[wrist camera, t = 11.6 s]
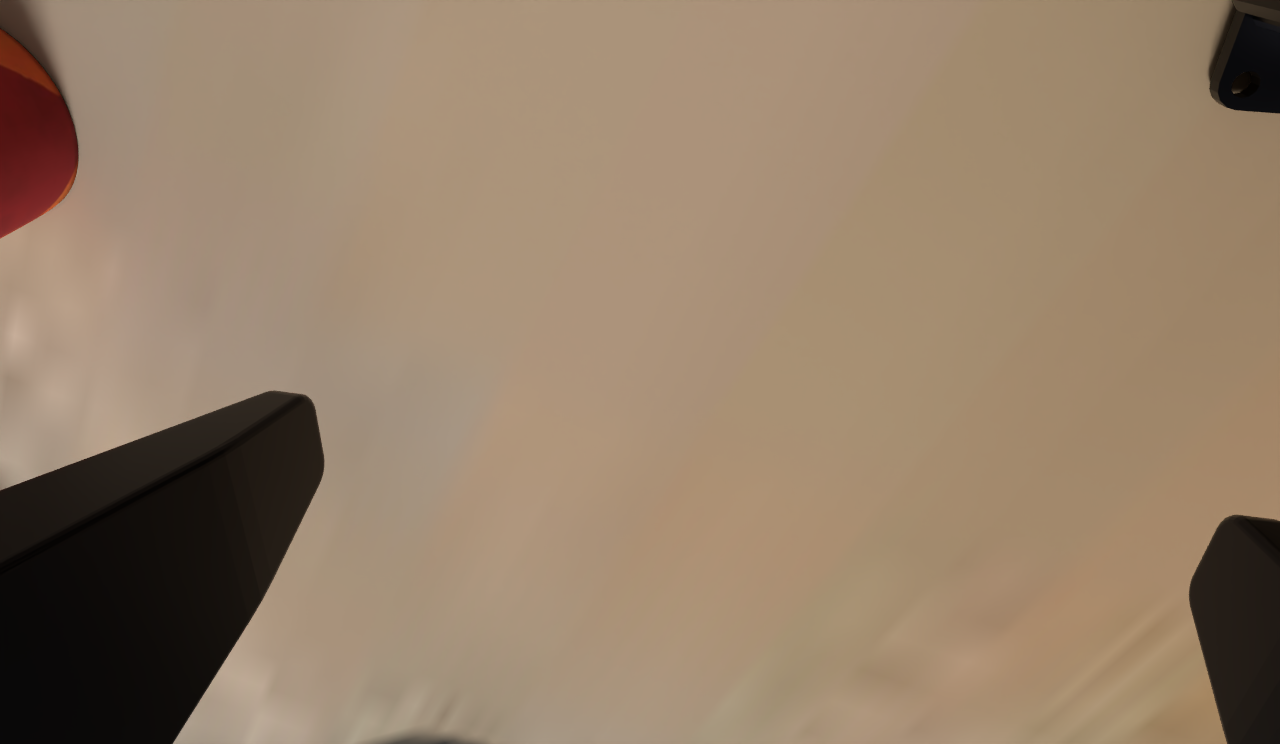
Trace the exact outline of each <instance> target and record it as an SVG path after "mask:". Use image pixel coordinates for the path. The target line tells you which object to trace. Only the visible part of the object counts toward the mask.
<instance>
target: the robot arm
mask: <svg viewBox="0 0 1280 744" xmlns="http://www.w3.org/2000/svg"><path fill="white" fill-rule="evenodd" d="M1232 2H1233V4H1234V6H1235V7H1236V9H1237V10H1236V13H1235V15H1234V18H1233V21H1232V23H1231V26H1230V29H1229V31H1228V34H1227V37H1226V40H1225V42H1224V45H1223V48H1222V50H1221V53H1220V56H1219V59H1218V61H1217V64H1216V67H1215V69H1214V72H1213V75H1212V78H1211V82H1210V88H1209V89H1210V92H1211V96H1212V98H1213V99H1214V100H1215V101H1216V102H1218V103H1219V104H1221V105H1223V106H1225V107H1227V108H1230V109H1234V110H1241V111H1254V112H1267V113H1280V0H1232ZM1243 72H1250V73H1251V82H1250V84H1249V85H1248V86H1247V88H1246V89H1244V90H1243V91H1241V92H1240V93H1234V94H1233V92H1232V91H1231V89H1232V83H1233V82H1234V80H1235V79H1236V77H1237V76H1239V75H1240V74H1242V73H1243ZM323 471H324V454H323V448H322V443H321V437H320V432H319V426H318V421H317V415H316V410H315V406H314V404H313V402H312V400H311V399H310V398H309V397H307V396H306V395H303V394H296V393H288V392H281V391H268V392H265V393H262V394H259V395H257V396H254V397H251V398H249V399H246V400H243V401H240V402H238V403H235V404H232V405H230V406H227V407H224V408H222V409H219V410H216V411H213V412H211V413H208V414H205V415H203V416H200V417H197V418H195V419H192V420H189V421H186V422H184V423H181V424H178V425H176V426H173V427H170V428H168V429H165V430H162V431H160V432H157V433H154V434H151V435H149V436H146V437H143V438H141V439H138V440H135V441H133V442H130V443H127V444H124V445H122V446H119V447H116V448H114V449H111V450H108V451H106V452H103V453H100V454H97V455H95V456H92V457H89V458H87V459H84V460H81V461H79V462H76V463H73V464H70V465H68V466H65V467H62V468H60V469H57V470H54V471H52V472H49V473H46V474H43V475H41V476H38V477H35V478H33V479H30V480H27V481H25V482H22V483H19V484H17V485H14V486H11V487H8V488H6V489H3V490H0V744H173V742H174V741H175V739H176V738H177V736H178V734H179V733H180V731H181V730H182V728H183V726H184V725H185V723H186V722H187V720H188V718H189V717H190V715H191V714H192V712H193V711H194V709H195V707H196V706H197V704H198V703H199V701H200V699H201V698H202V696H203V695H204V693H205V691H206V690H207V688H208V687H209V685H210V684H211V682H212V680H213V679H214V677H215V676H216V674H217V672H218V671H219V669H220V668H221V666H222V664H223V663H224V661H225V660H226V658H227V656H228V655H229V653H230V652H231V650H232V649H233V647H234V645H235V644H236V642H237V641H238V639H239V637H240V636H241V634H242V633H243V631H244V629H245V628H246V626H247V625H248V623H249V622H250V620H251V618H252V616H253V615H254V613H255V611H256V610H257V608H258V606H259V605H260V603H261V601H262V600H263V598H264V596H265V594H266V592H267V590H268V588H269V586H270V584H271V583H272V581H273V579H274V577H275V575H276V572H277V570H278V568H279V566H280V564H281V562H282V560H283V558H284V556H285V554H286V552H287V550H288V548H289V546H290V544H291V542H292V540H293V538H294V536H295V533H296V531H297V529H298V527H299V525H300V523H301V521H302V519H303V517H304V515H305V513H306V511H307V509H308V507H309V505H310V503H311V501H312V499H313V496H314V494H315V492H316V490H317V488H318V486H319V484H320V482H321V479H322V476H323ZM1189 601H1190V607H1191V611H1192V615H1193V619H1194V622H1195V626H1196V630H1197V634H1198V637H1199V641H1200V645H1201V649H1202V652H1203V656H1204V660H1205V664H1206V667H1207V671H1208V675H1209V679H1210V682H1211V686H1212V690H1213V694H1214V697H1215V701H1216V705H1217V709H1218V712H1219V716H1220V720H1221V724H1222V727H1223V731H1224V734H1225V738H1226V741H1227V744H1280V521H1278V520H1274V519H1267V518H1259V517H1251V516H1243V515H1232V516H1229V517H1227V518H1225V519H1224V520H1223V521H1222V522H1221V523H1220V524H1219V526H1218V527H1217V529H1216V531H1215V533H1214V535H1213V537H1212V539H1211V541H1210V543H1209V545H1208V547H1207V549H1206V551H1205V553H1204V555H1203V557H1202V559H1201V561H1200V563H1199V565H1198V567H1197V569H1196V571H1195V573H1194V575H1193V577H1192V580H1191V584H1190V589H1189Z"/></svg>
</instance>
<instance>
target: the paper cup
mask: <svg viewBox="0 0 1280 744" xmlns="http://www.w3.org/2000/svg"><path fill="white" fill-rule="evenodd" d="M77 167H78V145H77V138H76V133H75V129H74V125H73V122H72V119H71V116H70V114H69V111H68V109H67V106H66V104H65V102H64V100H63V98H62V96H61V94H60V93H59V91H58V89H57V87H56V86H55V84H54V83H53V81H52V80H51V78H50V77H49V75H48V74H47V73H46V71H45V70H44V69H43V67H42V66H41V65H40V64H39V63H38V61H37V60H36V59H35V58H34V57H33V56H32V55H31V54H30V53H29V52H28V51H27V50H26V49H25V48H24V47H23V46H22V45H21V44H20V43H19V42H18V41H16V40H15V39H14V38H13V37H12V36H10V35H9V34H8V33H6V32H5V31H4V30H2V29H1V28H0V238H2V237H4V236H6V235H8V234H9V233H11V232H13V231H15V230H17V229H18V228H20V227H22V226H24V225H26V224H27V223H29V222H31V221H33V220H34V219H36V218H38V217H39V216H41V215H43V214H44V213H46V212H47V211H49V210H51V209H52V208H53V207H55V206H56V205H57V204H58V203H60V202H61V201H62V200H63V199H64V198H65V196H66V195H67V194H68V192H69V191H70V189H71V187H72V185H73V183H74V180H75V177H76V173H77Z"/></svg>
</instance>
